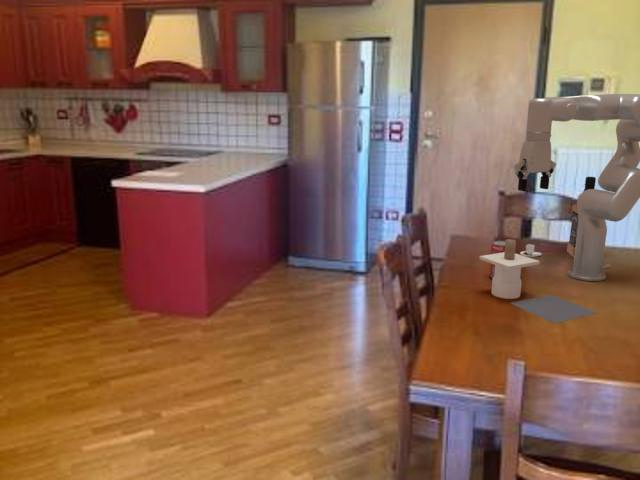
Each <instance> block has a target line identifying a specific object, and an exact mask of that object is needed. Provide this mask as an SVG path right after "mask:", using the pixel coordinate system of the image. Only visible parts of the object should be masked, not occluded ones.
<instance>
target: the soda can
mask: <svg viewBox="0 0 640 480" xmlns="http://www.w3.org/2000/svg"><path fill="white" fill-rule="evenodd" d="M505 241H506V240H496V241H493V242H492V245H491V247H490V254H496V253H503V252H505ZM494 272H495V265H494V264H492V263H489V277H490V278H491V279H493V277H494Z"/></svg>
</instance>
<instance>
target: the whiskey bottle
mask: <svg viewBox="0 0 640 480" xmlns="http://www.w3.org/2000/svg"><path fill="white" fill-rule="evenodd" d="M596 180H597V178H596V176H586V177H585V180H584V181H585V183H584V189H583V191H582V192H584V191H585V190H588V189H596V188H595V187H596ZM571 208H572V209H571V211H572V218H571V225H570V233H569V239H568V240H569V241H568V243H567V246H566V252H567V254H569V255H570V256H571V257H572V258H574V256H575V247H576V238H577V230H578V208H577V203H575V204H573V205H572V207H571Z"/></svg>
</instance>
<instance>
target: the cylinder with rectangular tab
mask: <svg viewBox="0 0 640 480" xmlns="http://www.w3.org/2000/svg"><path fill="white" fill-rule="evenodd" d="M521 271H522V267H521V268H515V269H510V270H508V269H505V268H503V267H500V266H497V265H495V272H494V277H493V279H492V278H491V279H492V280H491V281H492V282H491V295H492V296H494V297H496V298H500V299H506V300H507V299H508V300H510V299H511V300H512V299H513V300H514V299H518V298H520V297H521V292H522V279H521Z"/></svg>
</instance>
